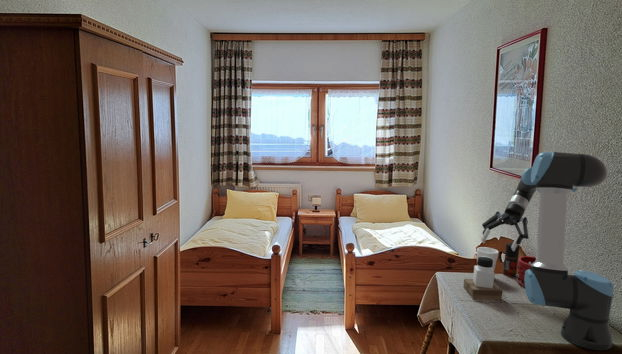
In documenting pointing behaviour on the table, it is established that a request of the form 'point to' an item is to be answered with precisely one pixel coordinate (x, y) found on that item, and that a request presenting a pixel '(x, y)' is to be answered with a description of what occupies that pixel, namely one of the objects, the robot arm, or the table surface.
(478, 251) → the foam cup
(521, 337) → the table surface
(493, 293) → the walnut plinth
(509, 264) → the deodorant
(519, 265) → the plant pot
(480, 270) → the medicine bottle
